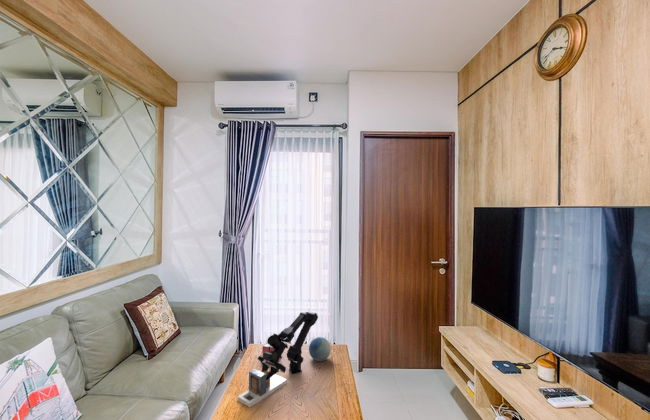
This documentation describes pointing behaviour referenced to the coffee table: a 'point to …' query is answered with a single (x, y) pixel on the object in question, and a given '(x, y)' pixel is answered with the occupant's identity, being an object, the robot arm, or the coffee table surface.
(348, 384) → the coffee table surface
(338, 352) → the coffee table surface
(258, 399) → the plate
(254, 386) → the walnut bar
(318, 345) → the decorative ball
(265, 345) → the puzzle cube
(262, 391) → the tunnel
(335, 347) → the coffee table surface
